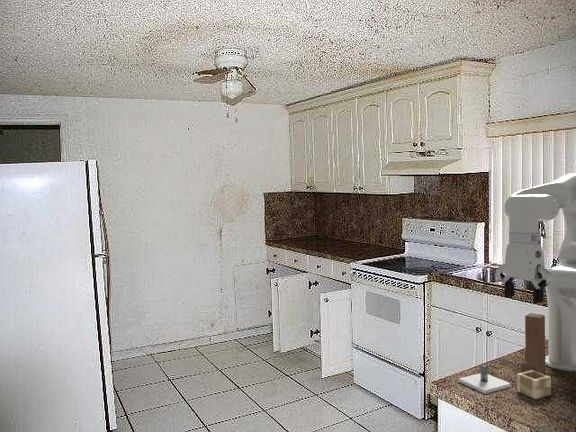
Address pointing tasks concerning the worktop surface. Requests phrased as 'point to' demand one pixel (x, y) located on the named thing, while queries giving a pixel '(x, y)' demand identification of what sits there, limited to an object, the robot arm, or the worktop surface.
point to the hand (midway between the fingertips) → (523, 299)
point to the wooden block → (534, 344)
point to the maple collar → (534, 384)
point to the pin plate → (485, 385)
